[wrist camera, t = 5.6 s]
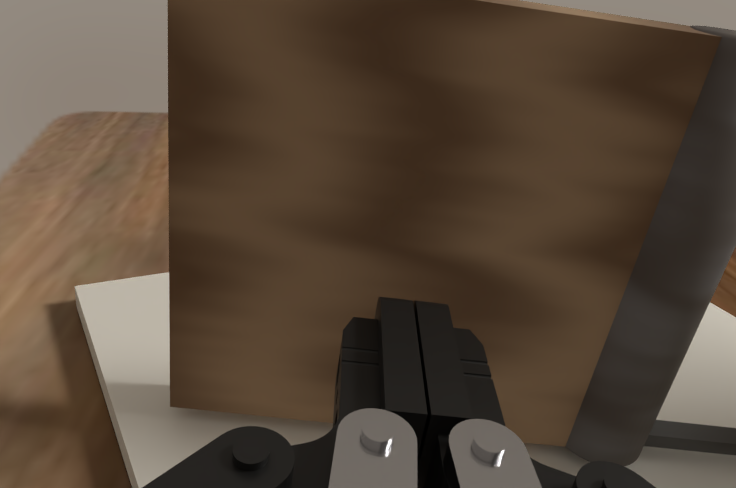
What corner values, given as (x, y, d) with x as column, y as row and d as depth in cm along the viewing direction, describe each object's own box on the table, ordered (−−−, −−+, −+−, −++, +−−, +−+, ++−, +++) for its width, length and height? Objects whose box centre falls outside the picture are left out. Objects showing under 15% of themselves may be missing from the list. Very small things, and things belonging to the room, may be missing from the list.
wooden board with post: (892, 435, 24) (1132, 90, 18) (959, 501, 21) (1268, 121, 15) (187, 360, 22) (192, -52, 16) (163, 422, 19) (158, -45, 13)
